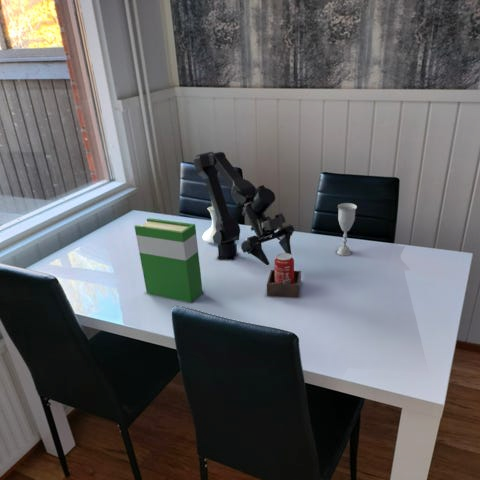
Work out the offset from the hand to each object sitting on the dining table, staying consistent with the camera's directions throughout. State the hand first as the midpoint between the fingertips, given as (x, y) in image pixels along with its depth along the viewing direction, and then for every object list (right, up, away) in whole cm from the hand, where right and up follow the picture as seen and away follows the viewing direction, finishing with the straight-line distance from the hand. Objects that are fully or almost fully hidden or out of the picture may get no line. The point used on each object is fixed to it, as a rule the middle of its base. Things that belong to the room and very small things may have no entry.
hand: (279, 260), depth 152 cm
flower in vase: (-23, +14, +43) cm, 51 cm away
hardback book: (-35, -10, +6) cm, 37 cm away
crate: (+2, -9, +3) cm, 10 cm away
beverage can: (+2, -9, +4) cm, 10 cm away
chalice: (+27, +6, +25) cm, 37 cm away
